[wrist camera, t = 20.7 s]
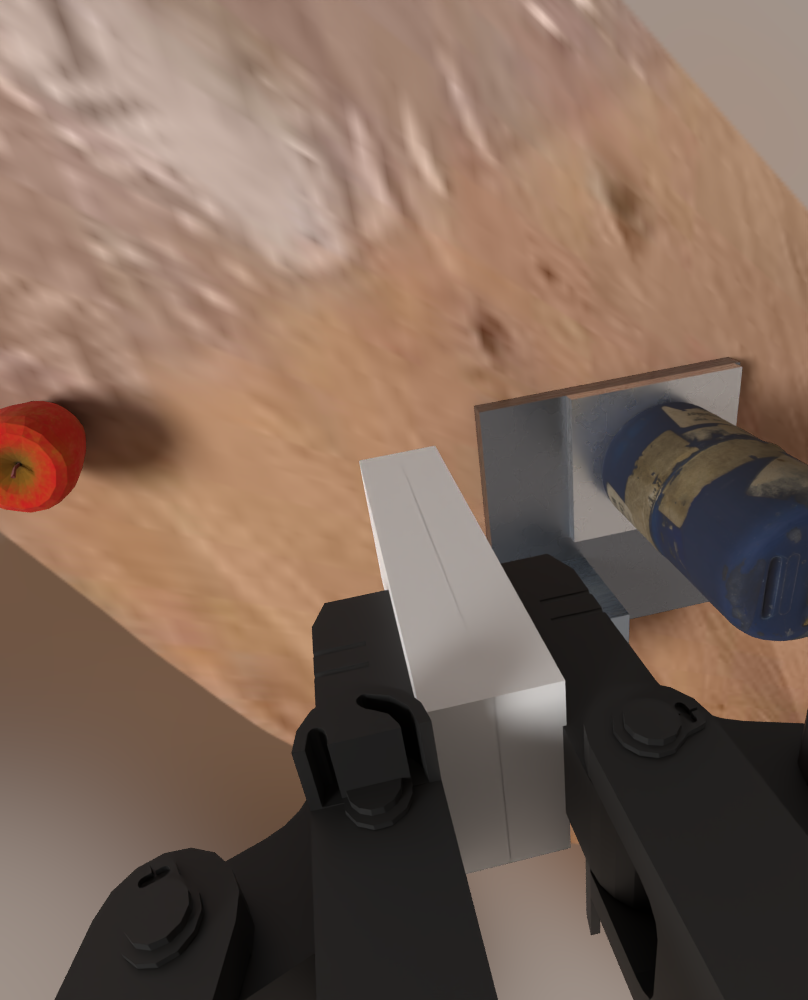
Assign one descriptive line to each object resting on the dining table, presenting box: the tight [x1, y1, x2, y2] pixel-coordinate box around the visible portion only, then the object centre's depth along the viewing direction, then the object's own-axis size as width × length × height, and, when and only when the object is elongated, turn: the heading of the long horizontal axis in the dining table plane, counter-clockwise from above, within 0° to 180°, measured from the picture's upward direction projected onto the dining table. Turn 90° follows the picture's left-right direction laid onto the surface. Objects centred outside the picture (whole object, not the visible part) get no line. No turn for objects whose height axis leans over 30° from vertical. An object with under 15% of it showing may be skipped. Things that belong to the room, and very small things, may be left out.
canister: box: [602, 402, 808, 641], centre depth 40 cm, size 10×10×18 cm
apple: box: [0, 401, 86, 513], centre depth 39 cm, size 6×6×8 cm
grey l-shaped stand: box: [474, 357, 742, 644], centre depth 48 cm, size 22×20×10 cm
